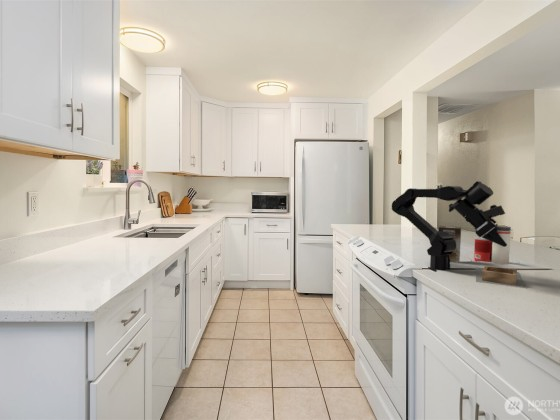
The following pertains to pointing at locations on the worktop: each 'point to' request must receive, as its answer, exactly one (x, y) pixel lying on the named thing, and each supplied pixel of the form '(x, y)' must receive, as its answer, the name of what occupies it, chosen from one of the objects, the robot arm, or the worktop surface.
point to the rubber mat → (519, 283)
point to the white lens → (499, 252)
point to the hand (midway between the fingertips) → (505, 244)
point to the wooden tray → (499, 275)
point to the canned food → (483, 250)
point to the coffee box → (456, 234)
